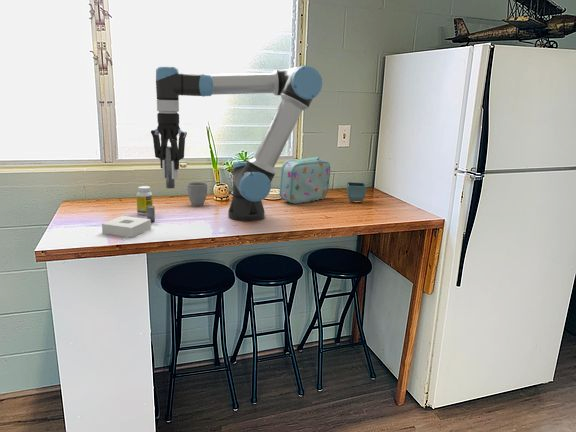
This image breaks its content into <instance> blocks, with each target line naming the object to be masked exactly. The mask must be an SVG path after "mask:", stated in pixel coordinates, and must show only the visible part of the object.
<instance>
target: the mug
mask: <svg viewBox="0 0 576 432" xmlns="http://www.w3.org/2000/svg"><path fill="white" fill-rule="evenodd" d="M186 185H187V186H186V187H187V195H188V199H189V201H190V204H191V205H192V207H193V206H194V207H200V206H201V207H202V206H204V205H205V201H206V198H207V195H208V183H207V182H204V181H192V182H187V184H186Z"/></svg>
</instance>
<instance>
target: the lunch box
mask: <svg viewBox="0 0 576 432" xmlns="http://www.w3.org/2000/svg"><path fill="white" fill-rule="evenodd" d="M330 177H331V164H330V163H329V162H328V161H326V160H323V159H321V158H320V157H318V156H313V157H307V158H298V159H287V160H286V161H284V162H283V164H282V166H281V171H280V183H279V196H280V199H281V200H282V201H287V202H288V203H291V204H294V205H297V204H304V203H312V202H311V201H313V202H315V200H317V201H320V200H319V199H322V198H324V199H325V198H326V196H327V195H328V191H329V187H330V186H329V185H330ZM322 200H323V199H322ZM303 202H304V203H303Z"/></svg>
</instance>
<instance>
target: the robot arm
mask: <svg viewBox="0 0 576 432" xmlns="http://www.w3.org/2000/svg"><path fill="white" fill-rule="evenodd" d="M322 88H323V78H322V76H321V73H320V72H319V71H318V70H317V69H316V68H314V67H313V66H310V65H307V64H306V65H305V64H304V65H303V64H301V65H300V66H294V67H290V68H286V69H274V70H273V72H261V73H260V72H257V73H218V74H217V73H214V74H213V73H212V74H211V73H210V74H205V73H181V72H179V68H178V67H176V66H157V67H156V68H155V90H156V91H155V92H156V111H157V114H156V117H157V127H156V128H155V129H152V130H150V134H151V136H152V141H153V149H154V150H153V151H154V157H155V158H156V159H159V162H160V169H162V178H163V179H166V164H165V147H166V146H168V142H169V143H170V146H171V149H172V155H173V161H171V166H172V179H174V180H175V179H177V178H178V170H179V169H180V160H183V159H184V158H185V150H186V149H185V146H186V137H187V135H188V134H187V131H183V130H181V128H180V114H179V113H178V112H179V111H180V102H179V101H180V99H179V98H180V96H189V97H190V96H191V97H211V96H213V95H243V94H245V95H247V94H273V95H274V96H280V98H281V101H280V103H279V106H278V107H277V109H276V112H275V113H274V116H273V118H272V119H271V121H270V124H269V125H268V128H267V129H266V132H265V134H264V136H263V137H262V140H261V142H260V144H259V146H258V148H257V150H256V152H255V154H254V157H252V158H249V159H247V161H236V162H234V163H232V199H231V203H230V205H229V208H228V212H227V213H228V215H227V216H228V217H229V219H232V220H236V221H244V222H245V221H246V222H249V221H250V222H251V221H252V222H253V221H258V220H259V221H260V220H262V219H264V218H265V215H266V214H265V213H266V212H265V208H264V205H263V202H262V201H263V200H264V199H266V198H267V197H268V196H269V194H270V192H271V189H272V181H273V179H274V177H275V175H276V171H275V165H276V164H277V162H278V160H279V158H280V156H281V154H282V152H283V150H284V148H285V146H286V144H287V142H288V140H289V138H290V137H291V134H292V132H293V131H294V128H295V126H296V124H297V122H298V120H299V118H300V117H301V114H302V112H303V111H306V110H307V109H309V107H310V105H311V103H312V101H313V100H314V99H315V98H316V97H317V96H318V95H319V94H320V93H321V91H322Z"/></svg>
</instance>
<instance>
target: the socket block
mask: <svg viewBox="0 0 576 432" xmlns="http://www.w3.org/2000/svg"><path fill="white" fill-rule="evenodd" d="M101 228H102V229H101V230H102V231H101V232H102V234H104V233H105V234H106V235H111V234H113V236H118V235H119V237H124V238H126V237H127V238H134V237H136V236H138V235H140V234H143V233H145V232H147V231H148V230H151V229H152V223H151V219H147V218H143V217H135V216H134V217H133V216H126V215H121V216H118V217H116V218H113V219H110V220H109V221H108V220H107V221H106V222H103V223H101ZM105 234H104V235H105Z"/></svg>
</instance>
